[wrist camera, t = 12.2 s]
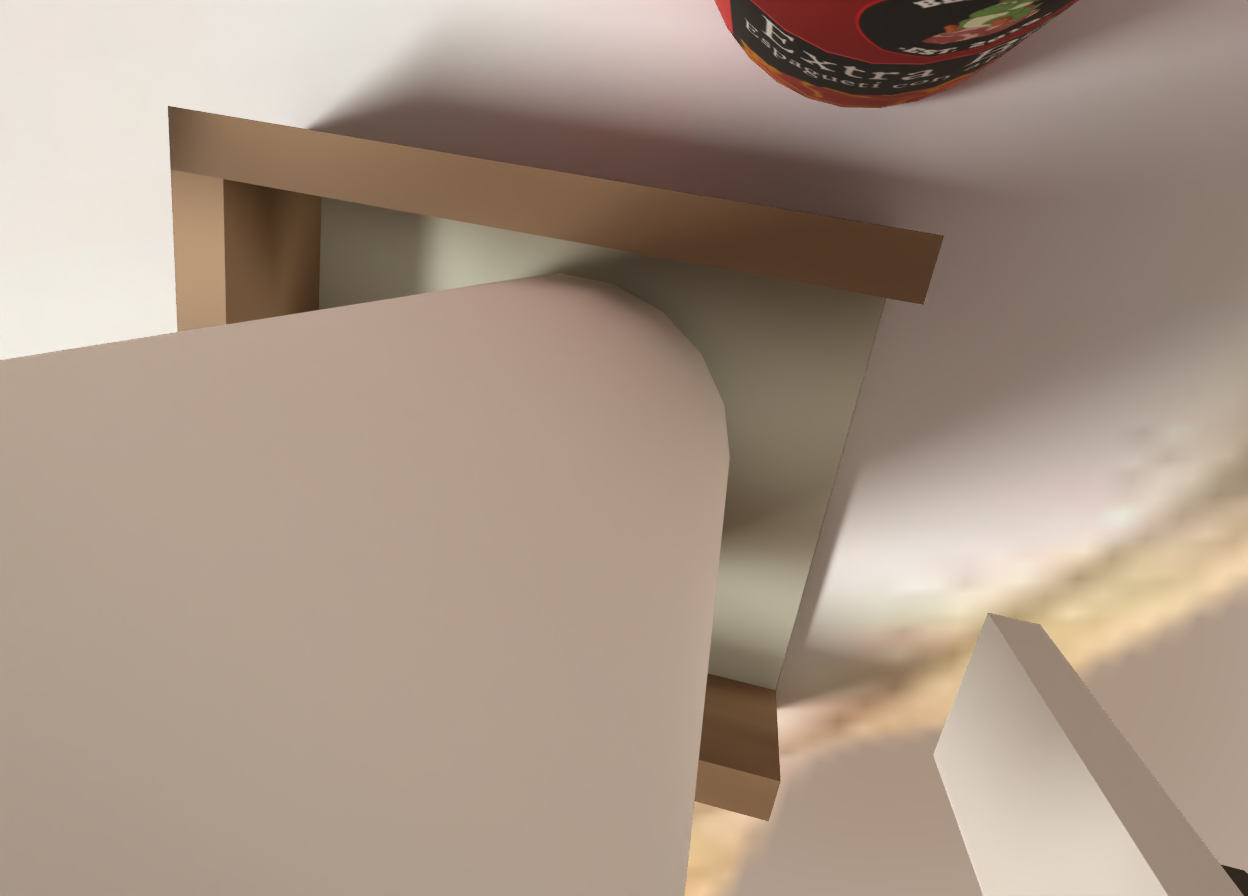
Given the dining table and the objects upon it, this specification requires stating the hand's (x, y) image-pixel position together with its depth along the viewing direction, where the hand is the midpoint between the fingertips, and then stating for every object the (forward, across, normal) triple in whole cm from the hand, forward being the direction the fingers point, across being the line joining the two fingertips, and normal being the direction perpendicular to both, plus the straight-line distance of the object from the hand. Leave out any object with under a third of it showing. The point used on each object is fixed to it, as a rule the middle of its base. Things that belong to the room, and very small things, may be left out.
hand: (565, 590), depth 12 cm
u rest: (+7, -2, 0) cm, 8 cm away
